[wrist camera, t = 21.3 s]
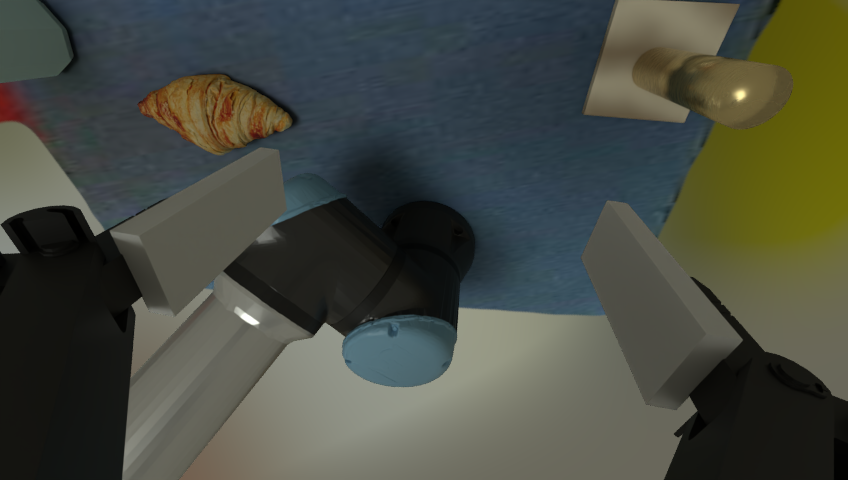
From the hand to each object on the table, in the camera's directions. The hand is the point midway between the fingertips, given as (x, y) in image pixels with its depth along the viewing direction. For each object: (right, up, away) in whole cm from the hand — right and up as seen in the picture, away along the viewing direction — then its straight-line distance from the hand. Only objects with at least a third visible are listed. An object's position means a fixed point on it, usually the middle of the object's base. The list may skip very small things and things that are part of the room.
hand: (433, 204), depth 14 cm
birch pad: (+24, +18, +22) cm, 37 cm away
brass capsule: (+24, +17, +22) cm, 37 cm away
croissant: (-28, +17, +33) cm, 46 cm away
